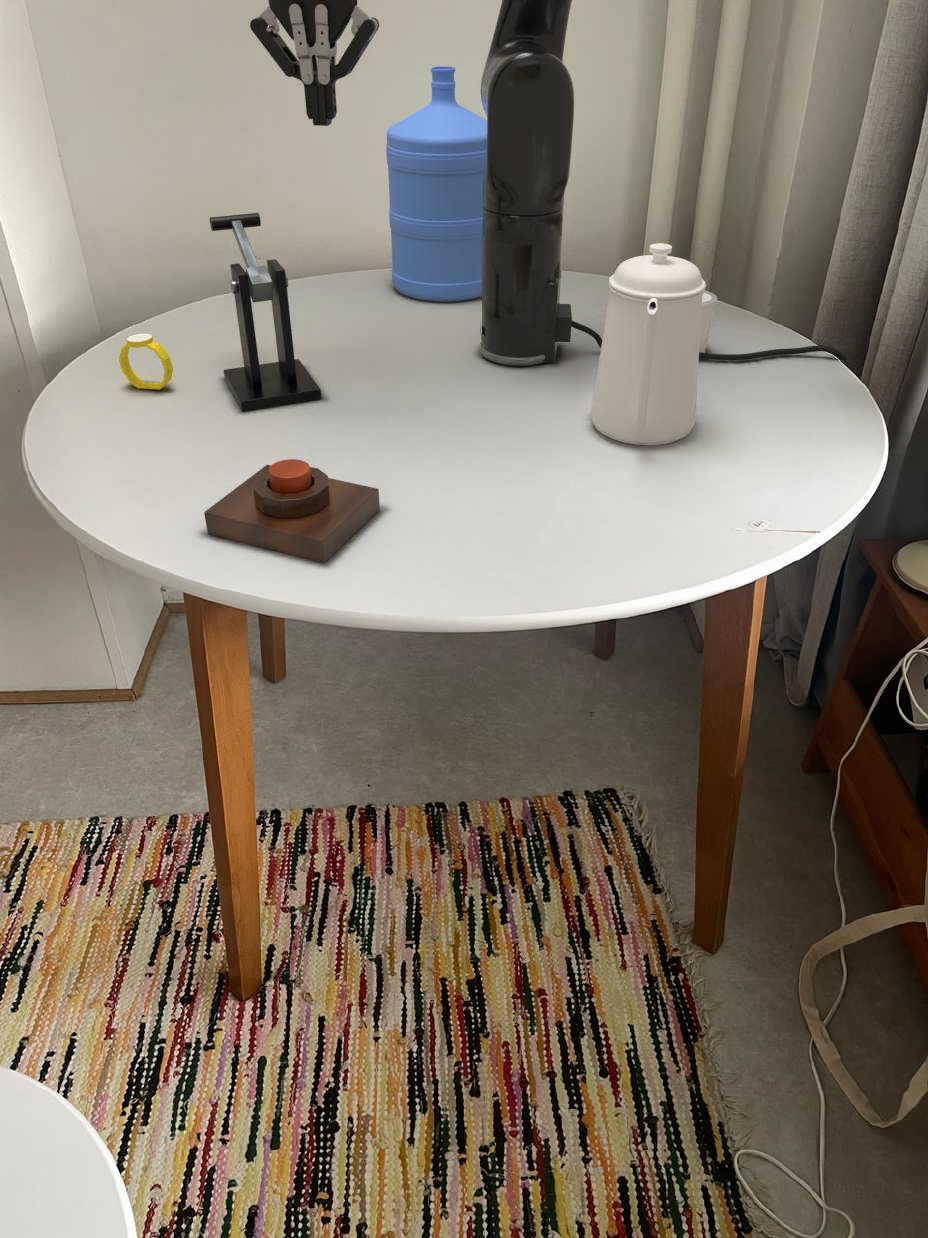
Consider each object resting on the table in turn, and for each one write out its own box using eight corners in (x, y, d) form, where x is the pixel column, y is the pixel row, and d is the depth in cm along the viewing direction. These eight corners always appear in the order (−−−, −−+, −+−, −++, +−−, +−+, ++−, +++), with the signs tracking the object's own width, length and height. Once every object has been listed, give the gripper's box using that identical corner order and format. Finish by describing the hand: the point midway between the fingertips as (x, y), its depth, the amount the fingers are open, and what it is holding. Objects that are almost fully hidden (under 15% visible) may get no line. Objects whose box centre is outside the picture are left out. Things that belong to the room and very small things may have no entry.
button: (319, 481, 89) (317, 463, 88) (297, 499, 86) (295, 480, 85) (284, 473, 90) (282, 455, 89) (262, 491, 87) (260, 473, 86)
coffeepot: (577, 477, 97) (590, 282, 86) (600, 379, 117) (614, 210, 106) (691, 488, 95) (719, 289, 84) (695, 386, 115) (718, 215, 104)
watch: (180, 385, 116) (171, 335, 112) (167, 395, 113) (158, 344, 110) (134, 380, 117) (124, 330, 113) (121, 389, 115) (110, 338, 111)
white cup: (675, 338, 128) (681, 282, 124) (720, 351, 124) (729, 295, 120) (642, 352, 124) (648, 295, 120) (688, 366, 120) (695, 308, 116)
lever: (210, 229, 114) (208, 210, 112) (258, 224, 115) (257, 206, 113) (237, 304, 107) (236, 285, 105) (287, 298, 109) (287, 279, 107)
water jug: (472, 309, 137) (472, 79, 120) (372, 294, 142) (359, 72, 126) (516, 278, 148) (522, 63, 132) (422, 265, 154) (417, 57, 137)
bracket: (224, 379, 117) (206, 258, 109) (299, 368, 120) (287, 250, 112) (242, 411, 110) (224, 285, 102) (321, 399, 112) (310, 275, 104)
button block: (380, 509, 92) (377, 470, 90) (324, 563, 84) (320, 522, 82) (269, 484, 96) (264, 446, 94) (207, 533, 88) (200, 493, 86)
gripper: (385, -84, 94) (393, 119, 104) (250, -83, 96) (270, 116, 106) (367, -83, 88) (378, 132, 98) (224, -82, 90) (248, 129, 100)
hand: (322, 123), depth 102 cm, fingers closed
